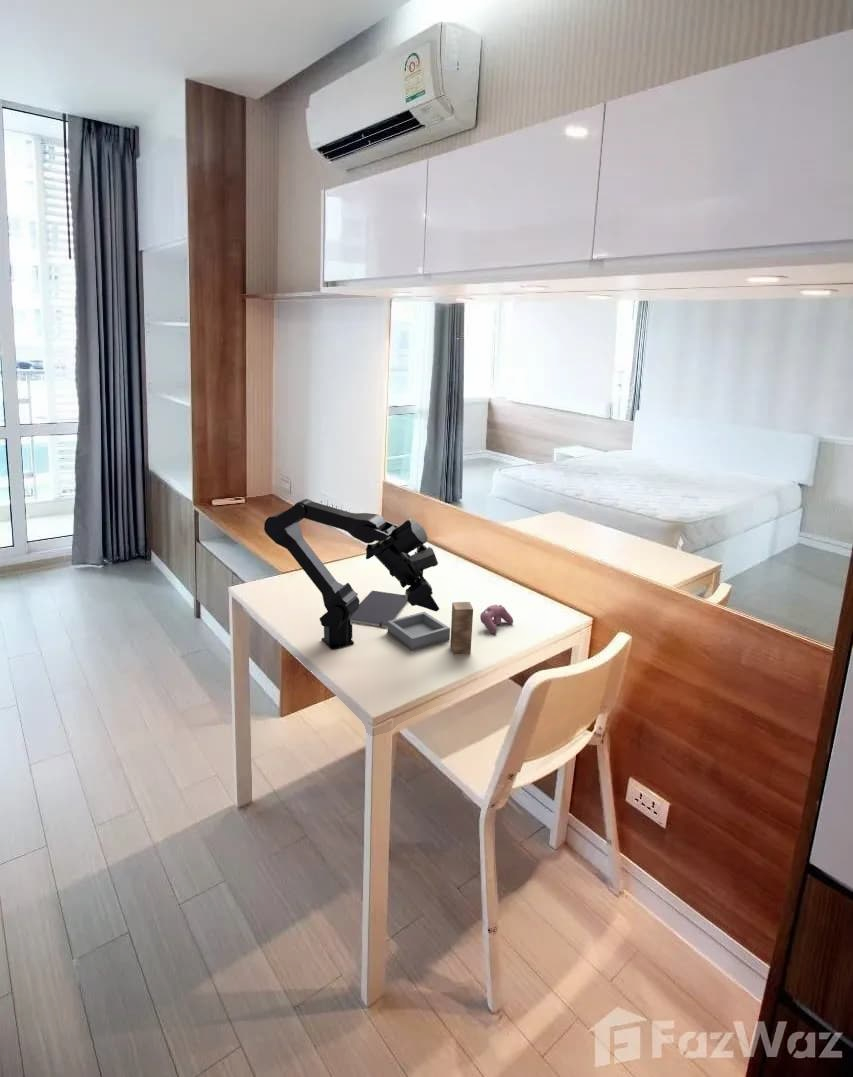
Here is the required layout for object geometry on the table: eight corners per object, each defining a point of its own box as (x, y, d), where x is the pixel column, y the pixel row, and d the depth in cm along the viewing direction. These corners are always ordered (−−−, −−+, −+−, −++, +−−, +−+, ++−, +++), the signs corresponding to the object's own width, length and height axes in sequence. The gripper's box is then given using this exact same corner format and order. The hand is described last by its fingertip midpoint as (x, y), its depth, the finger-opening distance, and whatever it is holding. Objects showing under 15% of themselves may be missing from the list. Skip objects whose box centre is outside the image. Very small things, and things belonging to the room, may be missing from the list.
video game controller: (502, 625, 186) (495, 602, 186) (515, 623, 183) (507, 599, 183) (483, 636, 179) (475, 612, 179) (496, 634, 176) (487, 610, 176)
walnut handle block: (453, 654, 165) (455, 609, 161) (450, 646, 170) (452, 602, 166) (470, 654, 166) (473, 609, 162) (467, 645, 170) (469, 601, 166)
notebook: (372, 595, 201) (345, 623, 182) (372, 590, 201) (345, 618, 181) (411, 600, 198) (388, 630, 179) (411, 595, 198) (388, 624, 178)
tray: (411, 651, 166) (412, 638, 165) (387, 633, 176) (387, 621, 175) (449, 639, 173) (450, 627, 172) (424, 623, 182) (424, 611, 181)
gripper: (426, 552, 149) (467, 597, 155) (414, 526, 166) (451, 567, 172) (389, 583, 150) (431, 627, 156) (381, 554, 167) (419, 594, 173)
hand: (434, 602), depth 164 cm, fingers open, 9 cm apart
